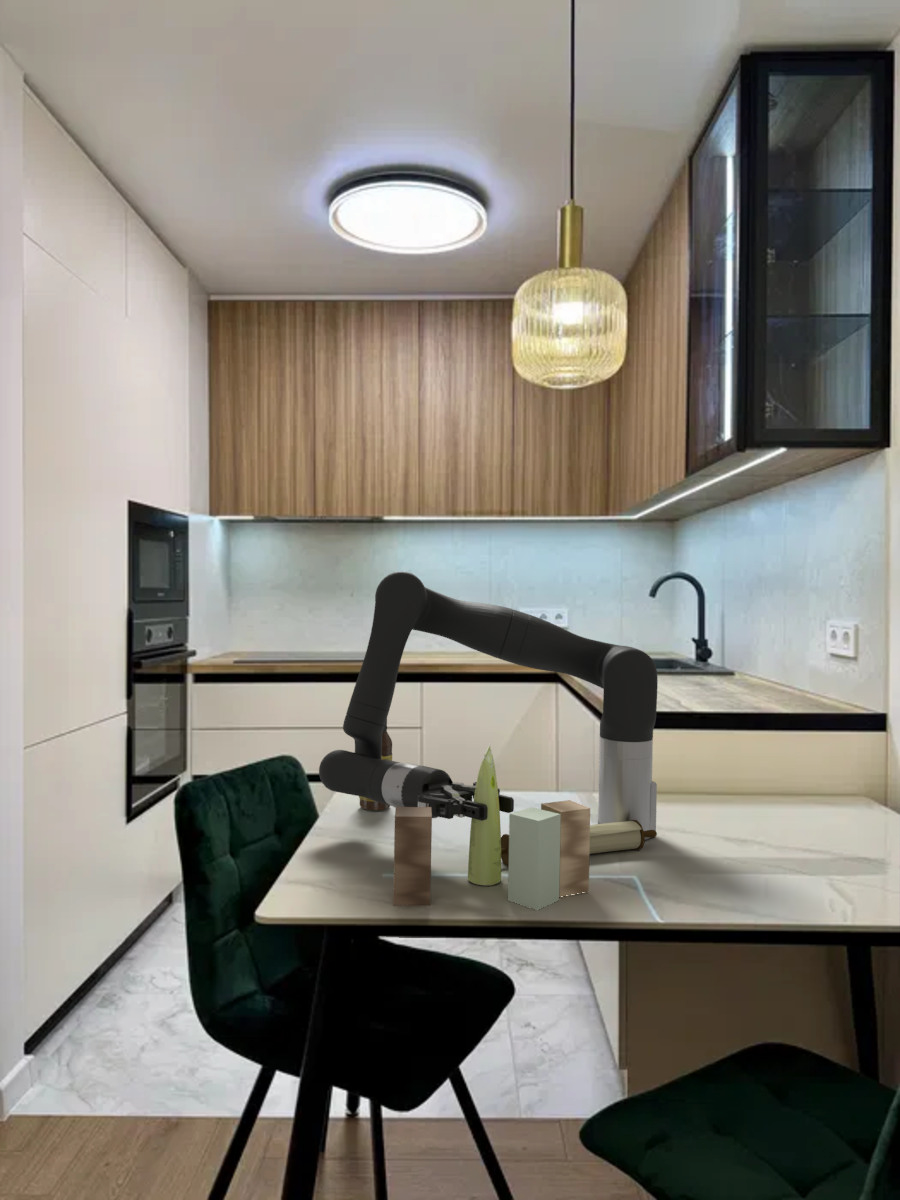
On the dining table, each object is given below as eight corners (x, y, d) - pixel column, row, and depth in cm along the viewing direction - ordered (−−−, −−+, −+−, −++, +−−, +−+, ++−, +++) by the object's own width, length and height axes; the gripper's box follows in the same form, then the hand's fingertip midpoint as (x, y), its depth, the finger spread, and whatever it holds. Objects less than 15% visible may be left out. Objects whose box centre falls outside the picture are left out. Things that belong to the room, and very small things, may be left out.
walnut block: (429, 892, 116) (431, 807, 115) (430, 905, 111) (431, 816, 110) (394, 891, 115) (395, 806, 115) (393, 905, 110) (394, 816, 110)
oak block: (568, 881, 121) (569, 800, 121) (588, 892, 116) (590, 808, 116) (539, 886, 119) (541, 803, 119) (559, 897, 114) (561, 811, 114)
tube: (511, 883, 119) (512, 750, 119) (482, 890, 116) (484, 753, 116) (488, 872, 124) (489, 743, 124) (460, 878, 121) (462, 746, 121)
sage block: (530, 891, 116) (531, 807, 116) (559, 900, 113) (560, 814, 113) (507, 900, 113) (509, 813, 113) (537, 910, 109) (538, 820, 109)
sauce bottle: (352, 806, 161) (354, 705, 161) (379, 802, 165) (381, 703, 165) (370, 814, 156) (371, 709, 156) (397, 809, 160) (399, 707, 159)
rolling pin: (645, 843, 141) (646, 814, 141) (666, 852, 136) (666, 822, 136) (476, 863, 129) (476, 832, 129) (491, 875, 124) (492, 842, 124)
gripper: (383, 772, 125) (467, 791, 113) (448, 759, 135) (530, 776, 124) (383, 821, 125) (466, 845, 113) (447, 804, 135) (529, 825, 124)
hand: (499, 809), depth 119 cm, fingers closed on tube, 5 cm apart
